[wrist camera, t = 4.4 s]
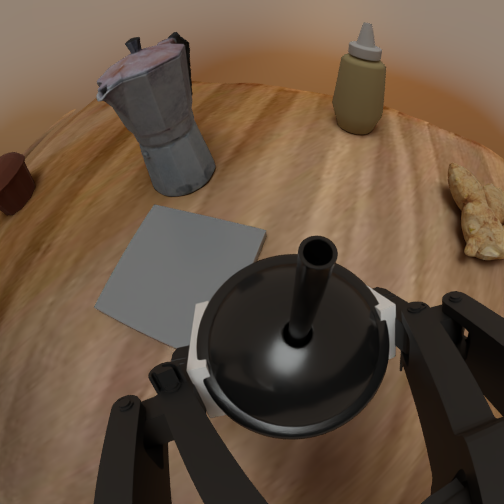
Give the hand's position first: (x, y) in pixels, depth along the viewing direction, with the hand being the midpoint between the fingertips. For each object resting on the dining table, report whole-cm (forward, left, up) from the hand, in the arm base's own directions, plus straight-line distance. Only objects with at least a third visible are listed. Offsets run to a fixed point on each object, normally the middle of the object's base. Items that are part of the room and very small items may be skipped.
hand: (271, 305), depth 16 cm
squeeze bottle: (+3, +35, -9) cm, 36 cm away
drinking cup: (+2, -3, -9) cm, 9 cm away
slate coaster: (-11, +3, -8) cm, 14 cm away
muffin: (-53, +6, -9) cm, 54 cm away
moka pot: (-18, +17, -9) cm, 26 cm away
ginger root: (+23, +20, -9) cm, 32 cm away
